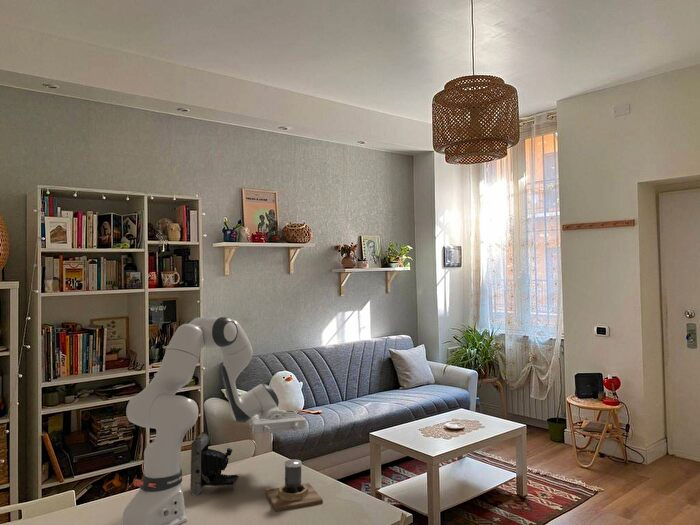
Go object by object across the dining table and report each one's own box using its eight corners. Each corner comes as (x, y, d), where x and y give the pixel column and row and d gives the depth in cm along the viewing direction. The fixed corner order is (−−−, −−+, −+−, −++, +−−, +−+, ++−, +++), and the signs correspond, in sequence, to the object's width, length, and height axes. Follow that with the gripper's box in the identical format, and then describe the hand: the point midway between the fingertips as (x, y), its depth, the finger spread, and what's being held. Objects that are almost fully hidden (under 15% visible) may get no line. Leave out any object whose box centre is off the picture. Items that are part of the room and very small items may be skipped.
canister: (296, 499, 181) (296, 466, 181) (281, 496, 183) (281, 463, 183) (304, 492, 186) (304, 460, 186) (289, 490, 188) (289, 458, 189)
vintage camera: (232, 497, 188) (234, 439, 188) (189, 495, 188) (191, 438, 189) (239, 486, 197) (240, 432, 198) (197, 485, 198) (199, 431, 199)
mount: (322, 503, 180) (322, 493, 180) (276, 511, 174) (275, 501, 174) (309, 486, 195) (308, 477, 195) (265, 493, 189) (265, 484, 189)
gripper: (248, 415, 205) (255, 423, 192) (299, 410, 213) (309, 418, 200) (248, 431, 205) (255, 441, 192) (299, 426, 212) (309, 435, 199)
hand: (283, 429), depth 196 cm, fingers open, 8 cm apart
